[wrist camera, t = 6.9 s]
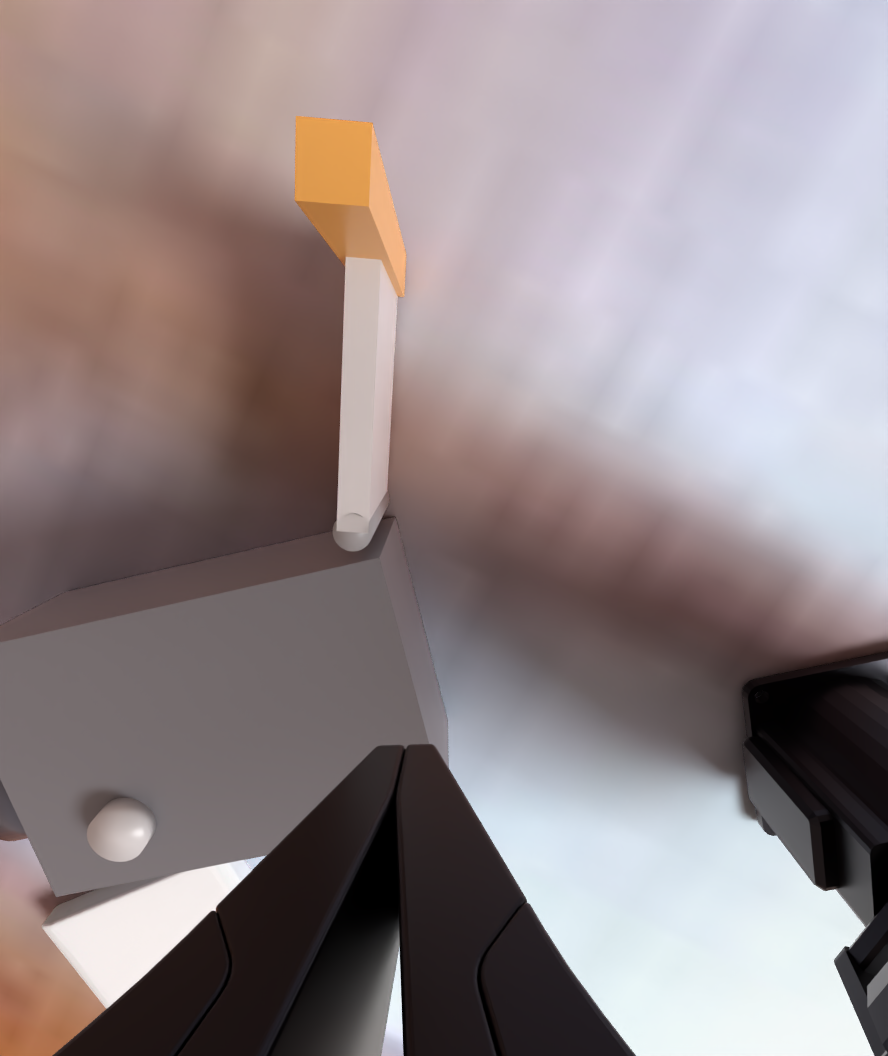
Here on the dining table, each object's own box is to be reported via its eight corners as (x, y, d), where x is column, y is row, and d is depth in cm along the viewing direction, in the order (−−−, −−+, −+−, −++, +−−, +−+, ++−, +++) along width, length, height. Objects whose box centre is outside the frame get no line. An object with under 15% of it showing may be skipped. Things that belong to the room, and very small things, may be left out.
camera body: (395, 516, 19) (376, 564, 14) (447, 720, 21) (449, 834, 16) (22, 601, 20) (-137, 679, 14) (104, 791, 22) (-11, 925, 16)
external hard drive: (234, 824, 23) (372, 1038, 25) (63, 894, 23) (214, 1096, 26) (218, 856, 21) (367, 1081, 24) (35, 930, 22) (199, 1141, 24)
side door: (391, 514, 19) (352, 606, 11) (356, 511, 19) (289, 601, 11) (406, 255, 17) (372, 122, 9) (367, 252, 17) (295, 116, 9)
